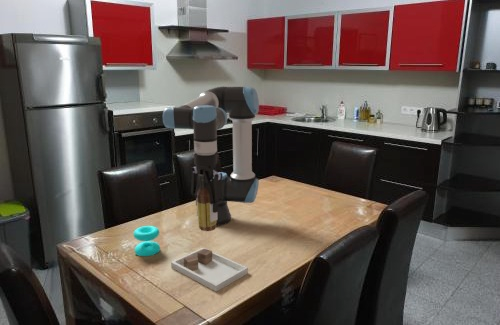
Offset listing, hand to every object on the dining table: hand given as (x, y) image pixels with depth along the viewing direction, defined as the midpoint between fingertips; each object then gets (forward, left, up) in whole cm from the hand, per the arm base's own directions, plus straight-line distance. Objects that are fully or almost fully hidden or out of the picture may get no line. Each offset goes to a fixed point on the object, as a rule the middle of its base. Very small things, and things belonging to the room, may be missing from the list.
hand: (207, 217), depth 135 cm
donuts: (-32, -4, -23) cm, 40 cm away
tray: (-2, +2, -23) cm, 23 cm away
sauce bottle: (0, 0, -4) cm, 4 cm away
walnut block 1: (-8, -1, -22) cm, 24 cm away
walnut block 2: (-8, +6, -22) cm, 24 cm away
